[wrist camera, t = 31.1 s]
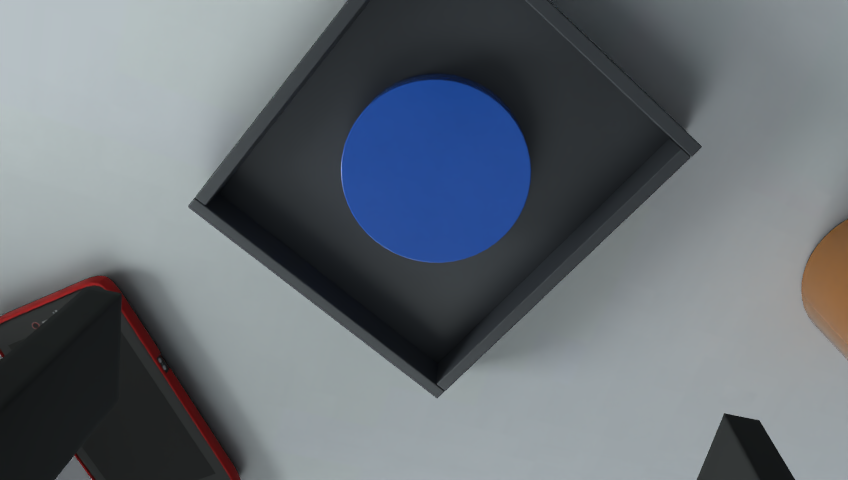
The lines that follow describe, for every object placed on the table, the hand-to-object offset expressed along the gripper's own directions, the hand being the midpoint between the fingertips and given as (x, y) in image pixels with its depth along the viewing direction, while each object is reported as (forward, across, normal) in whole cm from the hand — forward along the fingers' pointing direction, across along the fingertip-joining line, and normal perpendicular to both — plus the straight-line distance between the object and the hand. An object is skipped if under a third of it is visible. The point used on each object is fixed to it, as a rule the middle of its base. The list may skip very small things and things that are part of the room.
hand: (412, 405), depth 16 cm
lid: (+18, 0, 0) cm, 18 cm away
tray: (+20, 0, 0) cm, 20 cm away
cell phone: (+20, -15, -17) cm, 30 cm away
